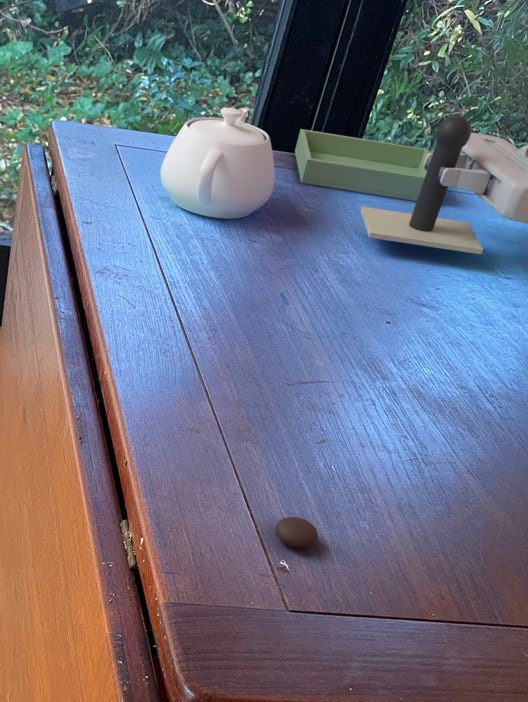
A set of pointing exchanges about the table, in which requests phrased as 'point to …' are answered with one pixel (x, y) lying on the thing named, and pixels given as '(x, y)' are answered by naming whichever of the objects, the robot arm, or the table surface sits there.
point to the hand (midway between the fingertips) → (433, 168)
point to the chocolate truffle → (296, 532)
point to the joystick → (429, 202)
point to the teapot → (219, 166)
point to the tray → (360, 165)
